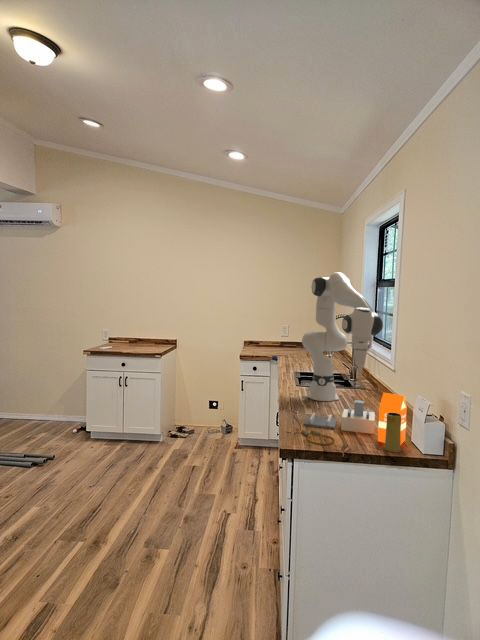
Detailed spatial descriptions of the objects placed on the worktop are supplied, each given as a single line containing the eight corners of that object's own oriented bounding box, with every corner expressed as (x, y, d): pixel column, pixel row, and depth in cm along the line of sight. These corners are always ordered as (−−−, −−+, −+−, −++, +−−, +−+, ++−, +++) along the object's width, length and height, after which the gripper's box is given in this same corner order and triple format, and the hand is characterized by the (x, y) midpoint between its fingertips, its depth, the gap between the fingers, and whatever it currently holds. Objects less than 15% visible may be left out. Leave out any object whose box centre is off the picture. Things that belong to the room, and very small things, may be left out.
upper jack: (343, 421, 201) (344, 404, 200) (374, 424, 196) (374, 408, 196) (341, 430, 187) (341, 412, 187) (374, 434, 183) (374, 416, 183)
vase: (400, 453, 161) (402, 417, 160) (383, 451, 163) (385, 415, 162) (400, 448, 166) (402, 413, 166) (384, 445, 169) (386, 411, 168)
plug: (354, 412, 194) (354, 400, 194) (363, 413, 193) (363, 401, 192) (353, 415, 190) (354, 402, 190) (363, 416, 189) (363, 403, 189)
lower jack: (308, 417, 206) (308, 411, 206) (337, 420, 202) (337, 414, 201) (303, 425, 193) (303, 419, 192) (334, 429, 188) (334, 422, 188)
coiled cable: (328, 433, 184) (328, 429, 184) (338, 446, 168) (338, 441, 168) (300, 433, 183) (300, 428, 183) (308, 446, 167) (308, 441, 167)
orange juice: (384, 436, 180) (386, 390, 179) (405, 441, 174) (407, 394, 173) (377, 441, 174) (379, 393, 173) (399, 446, 168) (401, 397, 167)
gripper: (355, 340, 200) (354, 369, 201) (353, 345, 181) (351, 377, 182) (369, 341, 198) (368, 370, 199) (368, 346, 179) (367, 378, 180)
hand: (360, 373), depth 190 cm, fingers open, 8 cm apart
